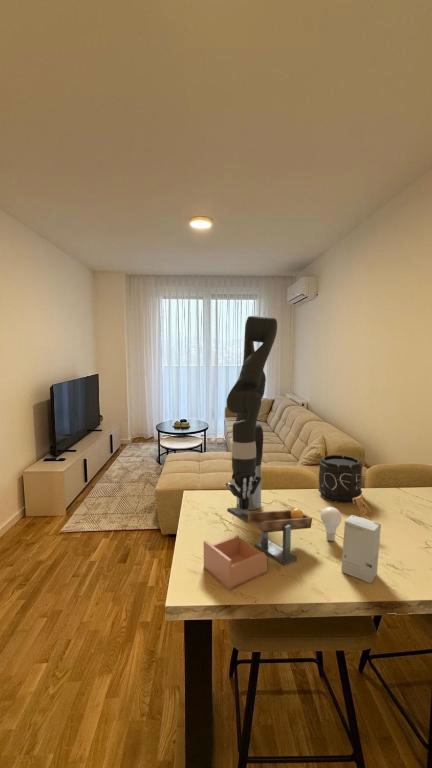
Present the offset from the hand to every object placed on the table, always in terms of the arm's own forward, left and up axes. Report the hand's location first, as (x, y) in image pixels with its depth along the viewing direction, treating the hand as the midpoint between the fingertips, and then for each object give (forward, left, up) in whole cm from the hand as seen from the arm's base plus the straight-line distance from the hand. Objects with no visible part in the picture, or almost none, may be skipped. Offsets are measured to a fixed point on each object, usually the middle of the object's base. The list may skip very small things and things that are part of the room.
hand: (243, 508), depth 113 cm
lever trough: (+4, +7, -4) cm, 9 cm away
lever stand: (+9, +5, -12) cm, 16 cm away
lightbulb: (+14, +25, -12) cm, 31 cm away
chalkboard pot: (-7, +59, -12) cm, 61 cm away
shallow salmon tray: (+9, -11, -12) cm, 18 cm away
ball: (+9, +15, -3) cm, 17 cm away
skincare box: (+30, +17, -12) cm, 36 cm away
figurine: (+15, +41, -12) cm, 45 cm away
